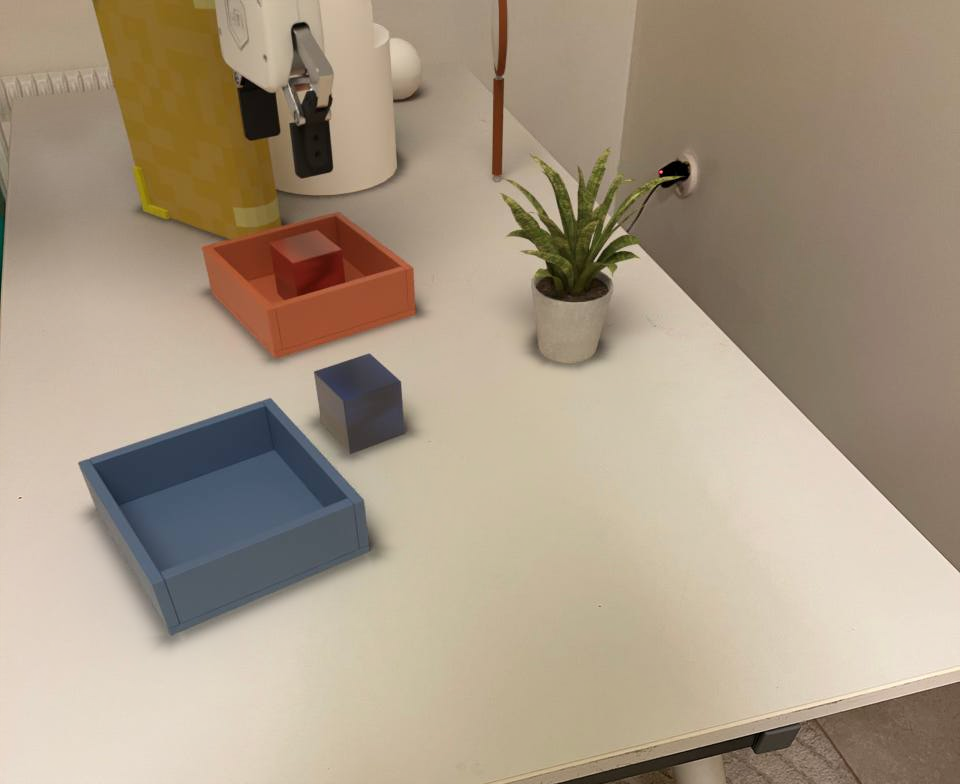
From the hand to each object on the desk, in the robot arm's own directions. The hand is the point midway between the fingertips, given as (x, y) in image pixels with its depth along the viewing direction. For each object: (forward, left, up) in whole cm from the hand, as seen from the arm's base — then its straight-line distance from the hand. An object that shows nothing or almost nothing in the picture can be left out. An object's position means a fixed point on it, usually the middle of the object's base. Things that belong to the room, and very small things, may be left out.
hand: (288, 155), depth 76 cm
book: (+1, +24, -14) cm, 28 cm away
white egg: (+37, +49, -14) cm, 63 cm away
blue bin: (-19, -26, -14) cm, 35 cm away
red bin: (+1, +1, -14) cm, 14 cm away
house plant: (+18, -19, -14) cm, 30 cm away
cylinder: (+18, +31, -14) cm, 38 cm away
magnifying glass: (+33, +16, -14) cm, 39 cm away
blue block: (-5, -20, -14) cm, 25 cm away
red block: (+1, +1, -13) cm, 13 cm away
